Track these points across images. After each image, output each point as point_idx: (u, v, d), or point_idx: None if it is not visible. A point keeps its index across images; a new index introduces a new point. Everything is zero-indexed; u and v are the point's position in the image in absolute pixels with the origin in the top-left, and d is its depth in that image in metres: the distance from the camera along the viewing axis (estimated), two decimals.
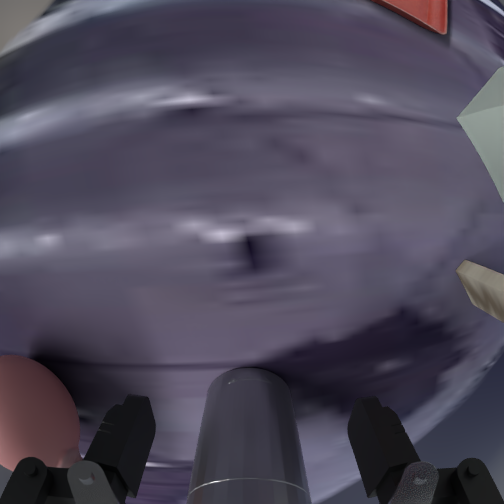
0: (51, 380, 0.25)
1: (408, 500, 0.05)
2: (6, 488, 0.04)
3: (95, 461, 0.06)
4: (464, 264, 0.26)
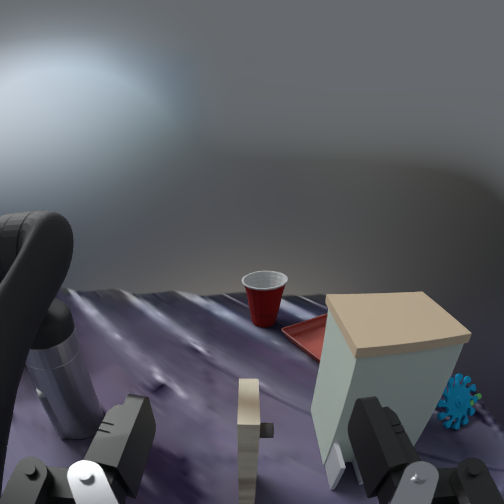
0: None
1: (408, 500, 0.05)
2: (6, 488, 0.04)
3: (95, 461, 0.06)
4: None
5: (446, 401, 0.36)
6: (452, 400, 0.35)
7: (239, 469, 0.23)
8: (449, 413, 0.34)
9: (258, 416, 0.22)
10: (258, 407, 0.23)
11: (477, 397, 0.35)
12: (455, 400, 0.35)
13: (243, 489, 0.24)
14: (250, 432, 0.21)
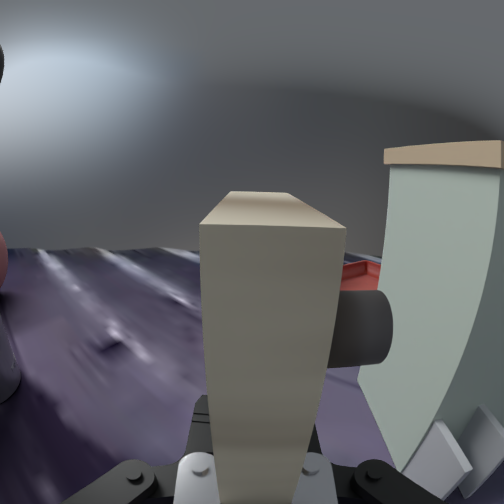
0: None
1: (309, 495, 0.06)
2: (95, 482, 0.05)
3: None
4: None
5: None
6: None
7: None
8: None
9: (319, 215, 0.05)
10: (309, 207, 0.06)
11: None
12: None
13: None
14: (282, 308, 0.04)
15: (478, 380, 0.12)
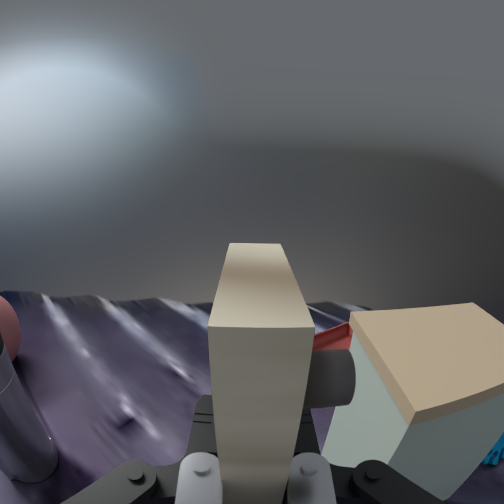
0: (13, 352, 0.37)
1: (308, 495, 0.06)
2: (96, 482, 0.05)
3: None
4: None
5: None
6: None
7: None
8: None
9: (299, 302, 0.06)
10: (294, 283, 0.07)
11: None
12: None
13: None
14: (267, 377, 0.05)
15: None
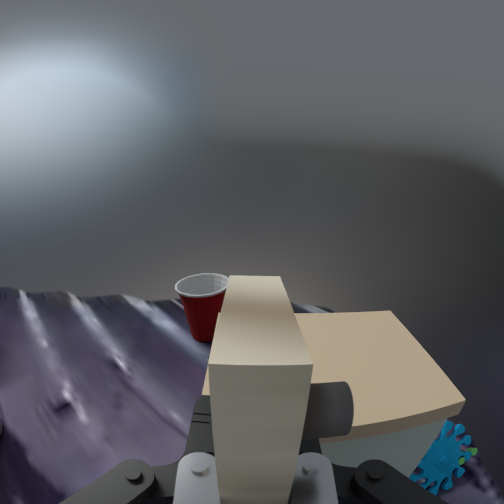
0: None
1: (309, 495, 0.06)
2: (94, 482, 0.05)
3: None
4: None
5: (422, 459, 0.23)
6: (431, 458, 0.22)
7: None
8: (424, 475, 0.21)
9: (298, 339, 0.06)
10: (293, 318, 0.07)
11: (471, 453, 0.21)
12: (436, 458, 0.22)
13: None
14: (267, 411, 0.05)
15: None
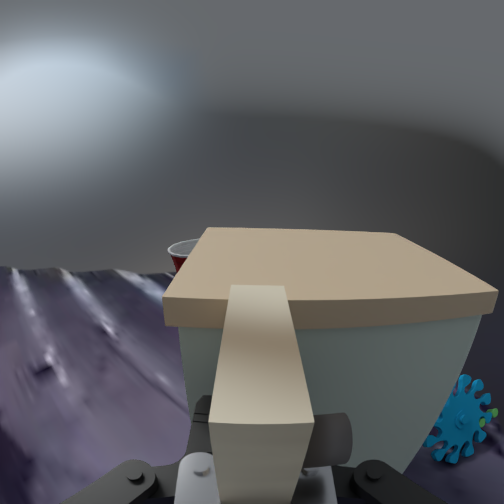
0: None
1: (308, 495, 0.06)
2: (95, 482, 0.05)
3: None
4: None
5: (440, 417, 0.21)
6: (450, 417, 0.21)
7: None
8: (443, 437, 0.20)
9: (300, 385, 0.05)
10: (297, 354, 0.06)
11: (491, 414, 0.20)
12: (455, 417, 0.21)
13: None
14: (267, 456, 0.05)
15: None
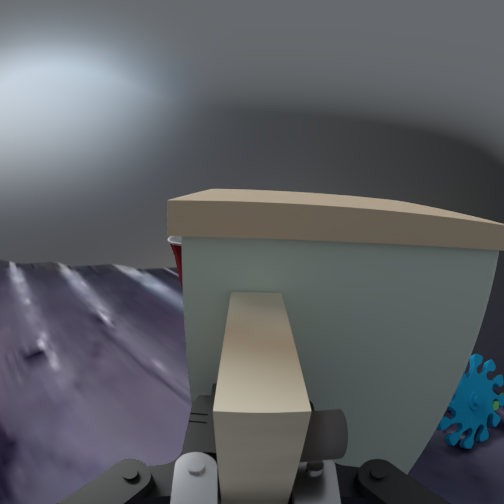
0: None
1: (312, 495, 0.06)
2: (91, 482, 0.05)
3: None
4: None
5: (453, 398, 0.20)
6: (463, 397, 0.20)
7: None
8: (457, 419, 0.19)
9: (297, 379, 0.06)
10: (294, 352, 0.07)
11: None
12: (468, 398, 0.20)
13: None
14: (267, 446, 0.05)
15: None
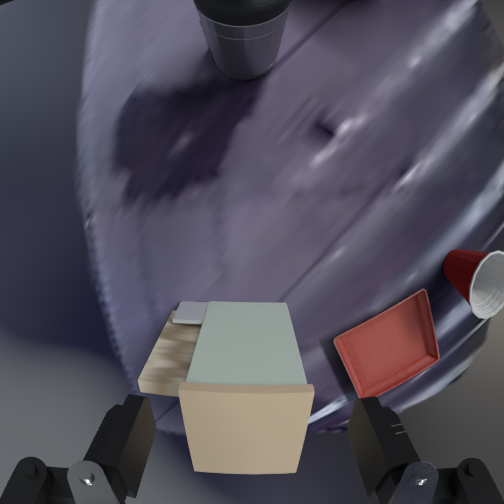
0: None
1: (408, 500, 0.05)
2: (6, 488, 0.04)
3: (95, 461, 0.06)
4: None
5: None
6: None
7: (155, 346, 0.36)
8: None
9: (148, 392, 0.29)
10: (157, 393, 0.29)
11: None
12: None
13: None
14: None
15: None
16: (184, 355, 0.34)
